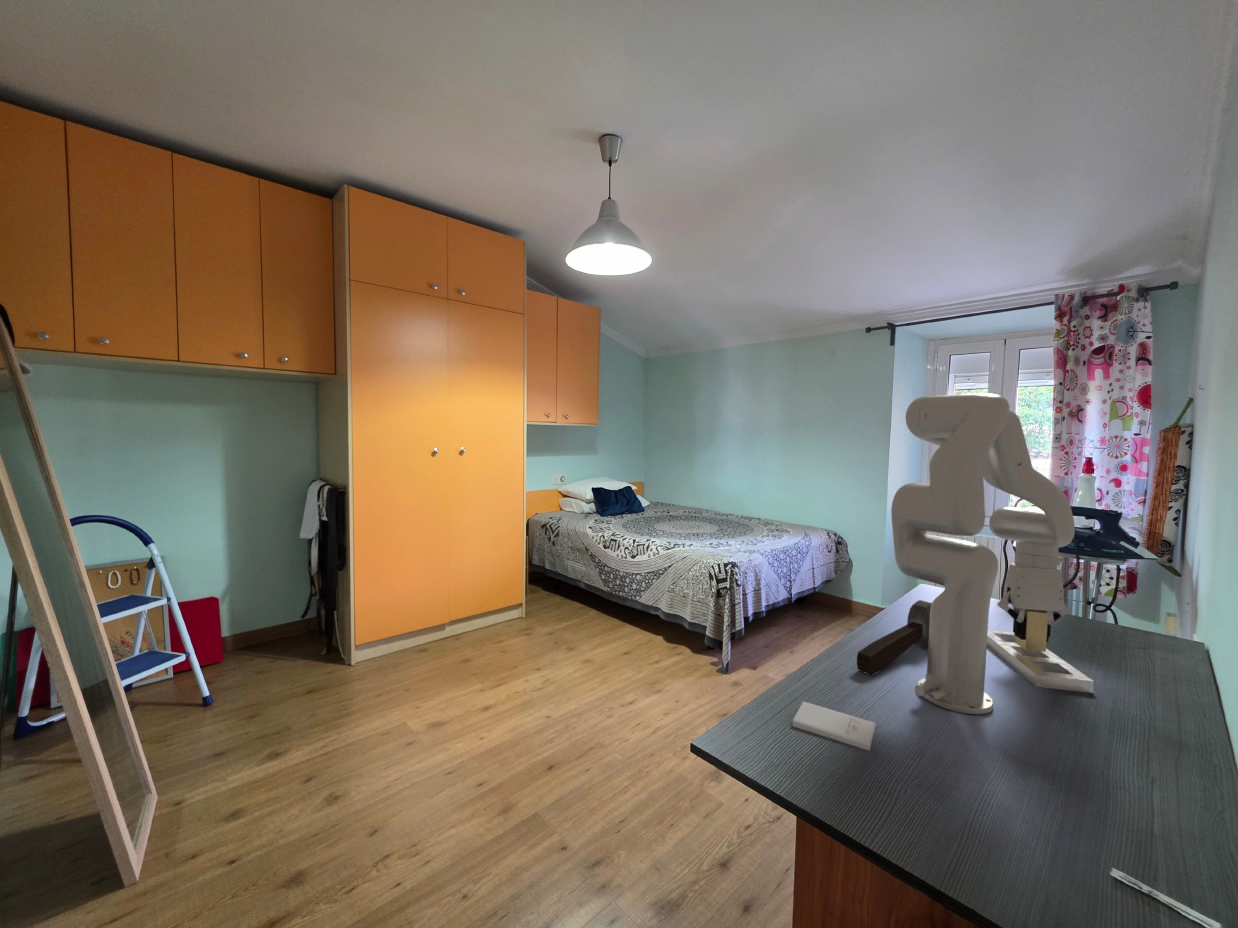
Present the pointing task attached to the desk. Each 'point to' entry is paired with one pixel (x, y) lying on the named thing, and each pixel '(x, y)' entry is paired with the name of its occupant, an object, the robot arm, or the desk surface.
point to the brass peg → (1034, 631)
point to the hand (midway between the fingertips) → (1031, 637)
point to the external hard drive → (835, 725)
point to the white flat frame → (1038, 664)
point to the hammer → (897, 640)
